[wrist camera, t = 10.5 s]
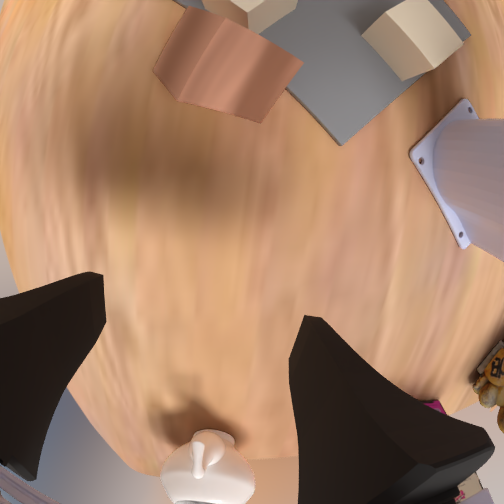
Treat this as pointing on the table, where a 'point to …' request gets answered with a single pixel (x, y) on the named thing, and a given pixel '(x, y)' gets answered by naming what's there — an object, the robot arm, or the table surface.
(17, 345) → the robot arm
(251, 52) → the terracotta block
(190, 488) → the teapot
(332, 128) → the puzzle board
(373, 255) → the table surface
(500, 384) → the decorative figurine
